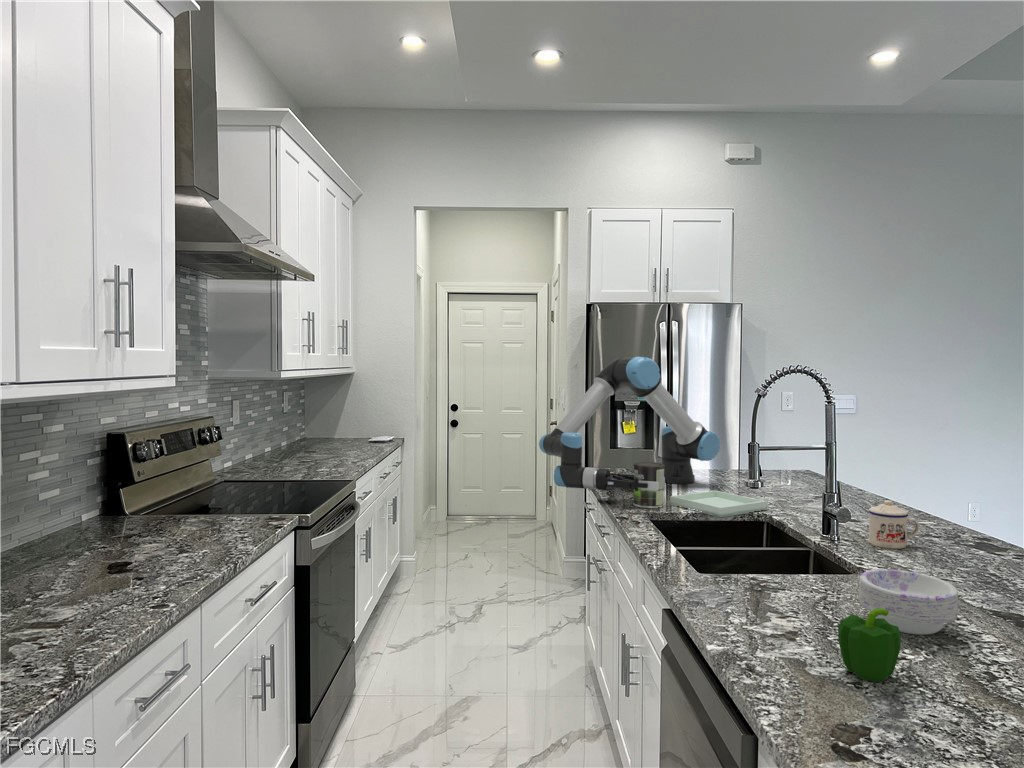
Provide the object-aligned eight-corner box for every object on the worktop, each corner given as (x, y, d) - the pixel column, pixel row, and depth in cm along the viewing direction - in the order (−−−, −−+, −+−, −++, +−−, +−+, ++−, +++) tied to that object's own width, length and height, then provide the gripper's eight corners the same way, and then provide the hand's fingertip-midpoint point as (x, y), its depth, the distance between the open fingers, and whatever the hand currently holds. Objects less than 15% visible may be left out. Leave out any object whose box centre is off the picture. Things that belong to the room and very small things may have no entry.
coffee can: (642, 509, 214) (642, 466, 214) (627, 503, 224) (628, 462, 224) (669, 507, 217) (670, 465, 217) (654, 501, 227) (654, 461, 227)
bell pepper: (840, 682, 95) (841, 614, 95) (834, 659, 103) (835, 596, 103) (906, 692, 92) (907, 622, 92) (895, 668, 100) (896, 603, 100)
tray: (715, 498, 233) (715, 490, 233) (767, 510, 214) (767, 501, 214) (670, 504, 222) (670, 496, 222) (720, 517, 203) (720, 508, 203)
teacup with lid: (874, 548, 168) (875, 503, 168) (863, 539, 177) (863, 496, 177) (925, 551, 166) (926, 505, 166) (911, 542, 175) (912, 498, 174)
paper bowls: (919, 648, 107) (920, 600, 107) (840, 616, 121) (840, 574, 121) (977, 634, 113) (978, 588, 113) (895, 605, 127) (896, 564, 127)
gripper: (606, 484, 238) (667, 489, 229) (587, 495, 218) (654, 500, 209) (606, 464, 238) (667, 468, 229) (588, 472, 217) (654, 477, 208)
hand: (661, 483), depth 219 cm, fingers closed on coffee can, 10 cm apart
